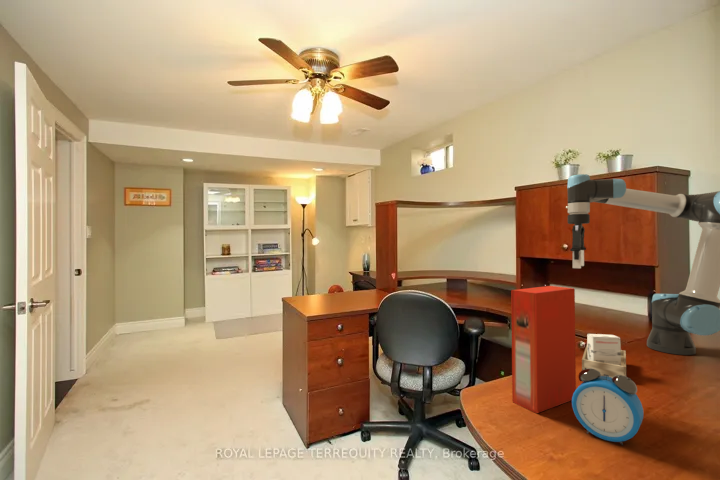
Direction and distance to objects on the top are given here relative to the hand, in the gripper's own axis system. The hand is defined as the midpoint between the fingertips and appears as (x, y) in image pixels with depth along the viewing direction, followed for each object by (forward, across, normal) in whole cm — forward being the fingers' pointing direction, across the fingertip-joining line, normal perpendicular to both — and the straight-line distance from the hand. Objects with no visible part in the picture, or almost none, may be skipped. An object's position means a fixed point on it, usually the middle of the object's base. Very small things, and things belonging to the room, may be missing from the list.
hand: (578, 267), depth 140 cm
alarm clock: (+35, +64, +11) cm, 74 cm away
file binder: (+35, +53, -4) cm, 64 cm away
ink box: (+34, +18, +9) cm, 40 cm away
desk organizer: (+35, +14, +9) cm, 38 cm away
